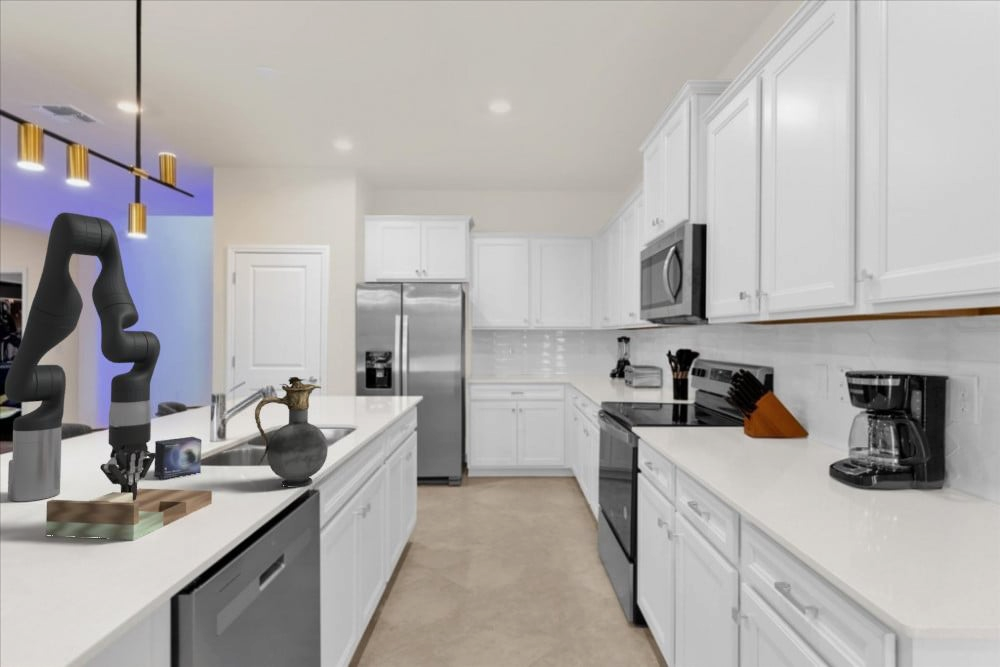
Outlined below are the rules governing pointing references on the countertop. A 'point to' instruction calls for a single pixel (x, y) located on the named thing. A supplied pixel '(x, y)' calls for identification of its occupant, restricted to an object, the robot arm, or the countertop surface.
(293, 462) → the pitcher
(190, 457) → the small box
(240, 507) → the countertop surface
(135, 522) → the wooden compartment tray
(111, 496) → the block
